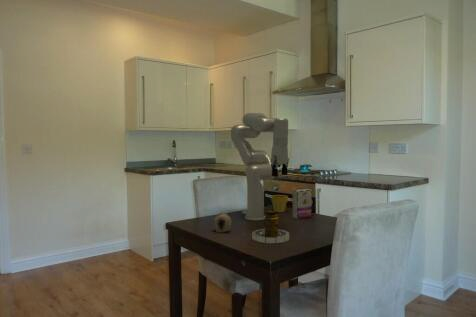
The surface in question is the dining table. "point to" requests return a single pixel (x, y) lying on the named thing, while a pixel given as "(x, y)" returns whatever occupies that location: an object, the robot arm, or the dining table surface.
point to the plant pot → (279, 202)
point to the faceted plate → (258, 237)
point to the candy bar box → (302, 203)
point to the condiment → (271, 224)
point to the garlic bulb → (222, 222)
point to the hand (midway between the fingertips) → (279, 175)
